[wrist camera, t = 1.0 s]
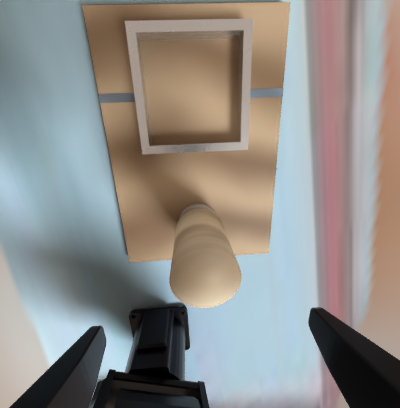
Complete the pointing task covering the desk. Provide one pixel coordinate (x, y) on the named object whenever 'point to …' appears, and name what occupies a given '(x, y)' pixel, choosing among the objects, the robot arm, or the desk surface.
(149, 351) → the robot arm
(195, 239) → the beige rounded cylinder
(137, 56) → the collar
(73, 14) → the desk surface
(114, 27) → the subfloor panel
